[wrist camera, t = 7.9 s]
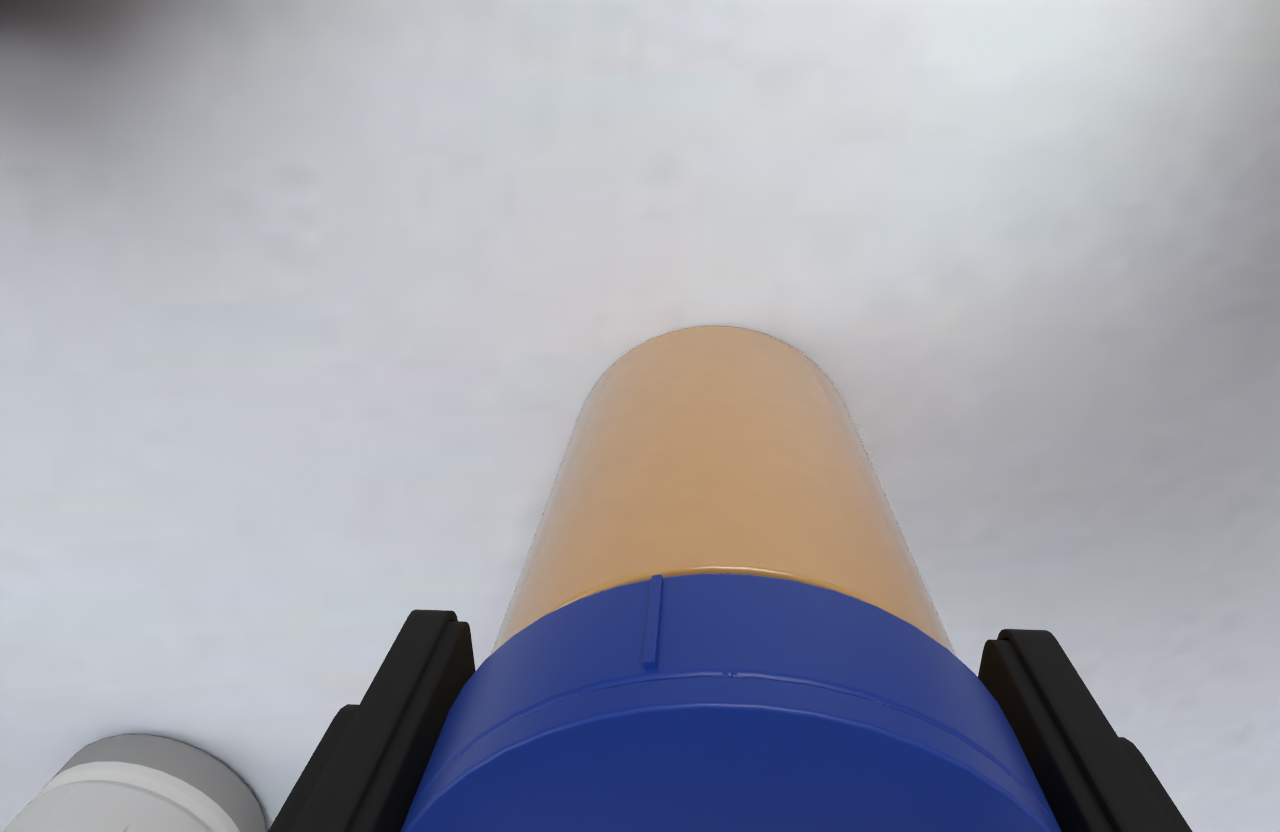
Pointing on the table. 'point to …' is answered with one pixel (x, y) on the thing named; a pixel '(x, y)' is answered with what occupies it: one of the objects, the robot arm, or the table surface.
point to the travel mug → (142, 791)
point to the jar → (717, 483)
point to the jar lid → (726, 722)
